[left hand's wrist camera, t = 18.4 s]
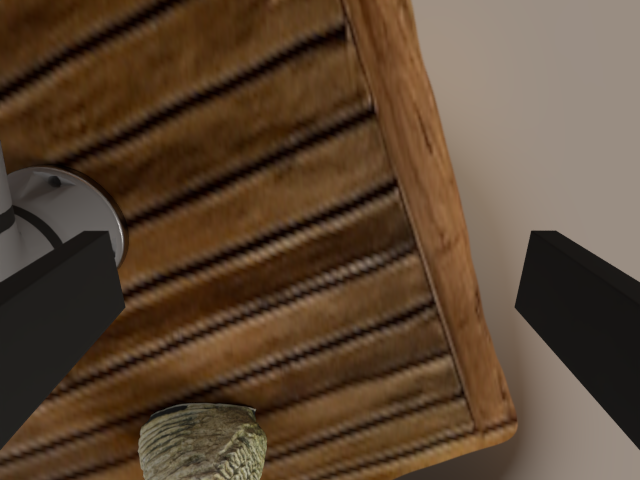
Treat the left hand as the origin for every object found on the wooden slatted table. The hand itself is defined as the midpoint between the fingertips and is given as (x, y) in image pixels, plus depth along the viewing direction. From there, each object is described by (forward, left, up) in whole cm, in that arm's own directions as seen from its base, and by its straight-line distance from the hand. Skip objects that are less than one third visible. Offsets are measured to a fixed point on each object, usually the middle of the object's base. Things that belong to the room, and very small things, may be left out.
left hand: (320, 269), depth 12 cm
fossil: (-33, -29, -32) cm, 54 cm away
